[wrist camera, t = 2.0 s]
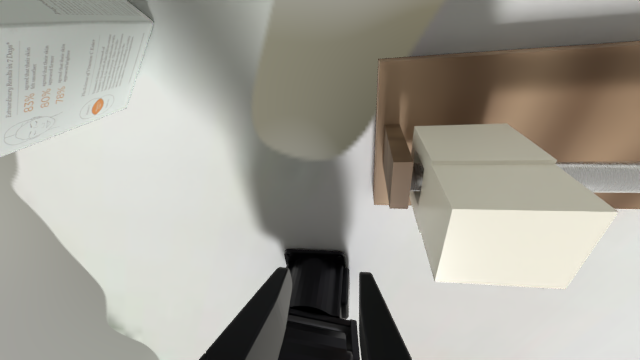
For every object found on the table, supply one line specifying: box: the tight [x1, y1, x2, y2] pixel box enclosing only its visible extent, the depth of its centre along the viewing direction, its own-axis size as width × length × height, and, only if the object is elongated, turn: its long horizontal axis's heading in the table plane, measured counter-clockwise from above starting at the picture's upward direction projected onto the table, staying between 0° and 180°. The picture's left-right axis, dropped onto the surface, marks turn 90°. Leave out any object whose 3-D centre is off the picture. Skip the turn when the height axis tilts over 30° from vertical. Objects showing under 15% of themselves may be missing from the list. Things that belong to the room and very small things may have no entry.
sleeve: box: [409, 123, 618, 289], centre depth 13 cm, size 5×4×8 cm
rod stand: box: [373, 41, 640, 209], centre depth 15 cm, size 22×11×8 cm, turn 95°
